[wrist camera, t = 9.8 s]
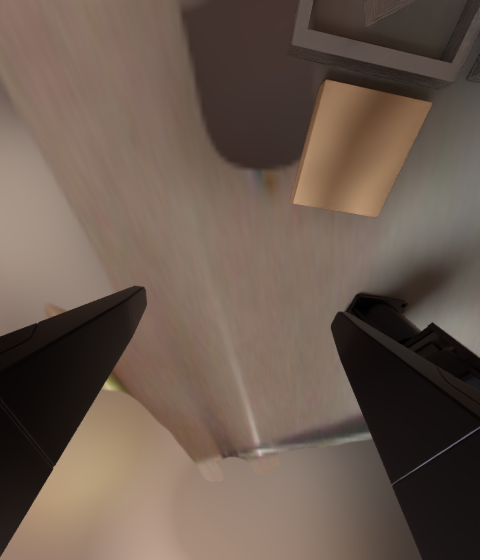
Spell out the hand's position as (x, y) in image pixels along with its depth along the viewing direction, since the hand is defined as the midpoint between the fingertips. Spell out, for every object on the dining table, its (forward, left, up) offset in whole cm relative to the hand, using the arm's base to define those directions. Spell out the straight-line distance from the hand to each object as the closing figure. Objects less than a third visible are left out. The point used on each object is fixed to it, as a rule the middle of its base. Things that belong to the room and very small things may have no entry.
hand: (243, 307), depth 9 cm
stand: (-8, -8, -12) cm, 16 cm away
